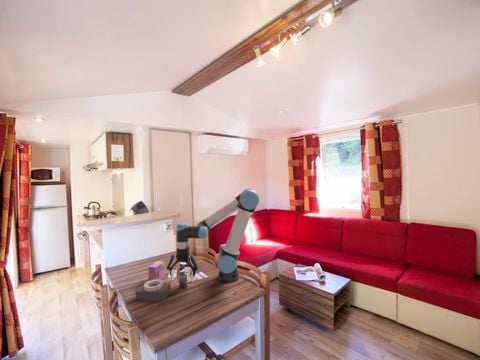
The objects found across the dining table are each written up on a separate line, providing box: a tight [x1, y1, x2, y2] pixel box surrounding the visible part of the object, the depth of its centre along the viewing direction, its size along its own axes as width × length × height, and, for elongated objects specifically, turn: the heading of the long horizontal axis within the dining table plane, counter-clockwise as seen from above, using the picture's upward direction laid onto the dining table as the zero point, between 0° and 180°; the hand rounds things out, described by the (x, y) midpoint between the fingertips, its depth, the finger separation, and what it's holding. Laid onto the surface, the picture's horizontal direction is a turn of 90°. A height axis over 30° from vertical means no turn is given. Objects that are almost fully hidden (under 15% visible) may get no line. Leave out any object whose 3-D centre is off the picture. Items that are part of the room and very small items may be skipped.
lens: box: [178, 271, 188, 290], centre depth 145 cm, size 5×5×9 cm
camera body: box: [135, 279, 172, 302], centre depth 135 cm, size 16×12×7 cm
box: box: [148, 260, 165, 281], centre depth 154 cm, size 10×6×12 cm, turn 168°
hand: (182, 280), depth 145 cm, fingers open, 13 cm apart
